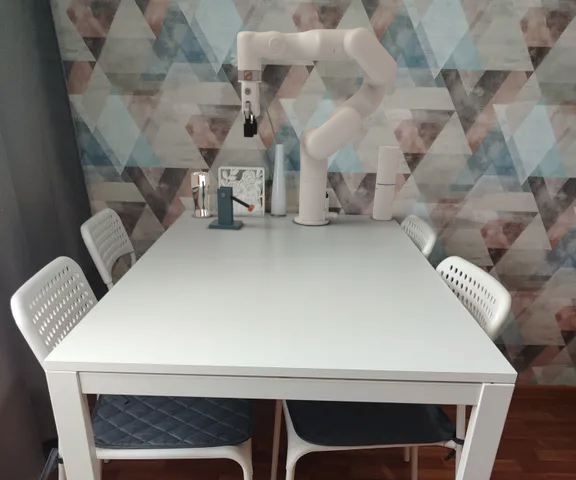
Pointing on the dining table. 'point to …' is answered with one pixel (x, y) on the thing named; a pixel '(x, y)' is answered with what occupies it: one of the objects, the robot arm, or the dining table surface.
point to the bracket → (225, 210)
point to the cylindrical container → (385, 182)
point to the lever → (243, 203)
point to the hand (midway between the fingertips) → (250, 135)
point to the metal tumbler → (201, 193)
